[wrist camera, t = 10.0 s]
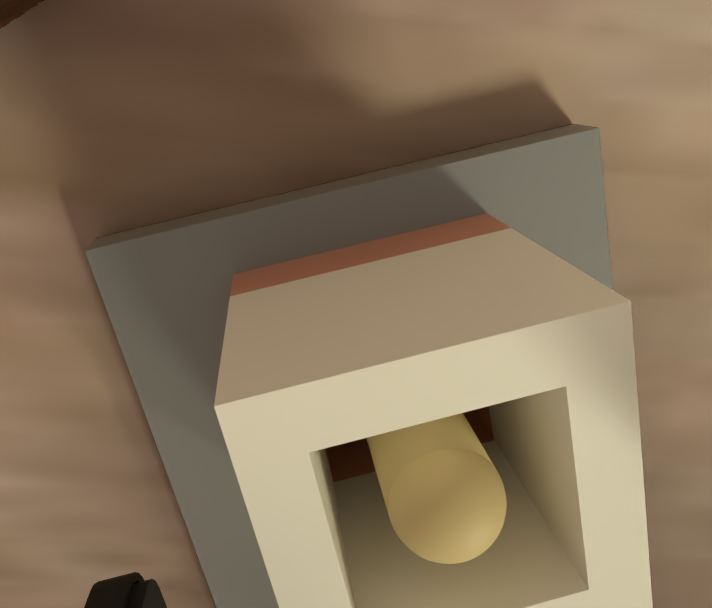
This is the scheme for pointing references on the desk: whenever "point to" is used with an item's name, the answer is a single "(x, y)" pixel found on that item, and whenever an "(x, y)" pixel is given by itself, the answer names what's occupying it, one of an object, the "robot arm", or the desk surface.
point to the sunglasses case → (14, 9)
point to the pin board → (309, 237)
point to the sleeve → (431, 402)
